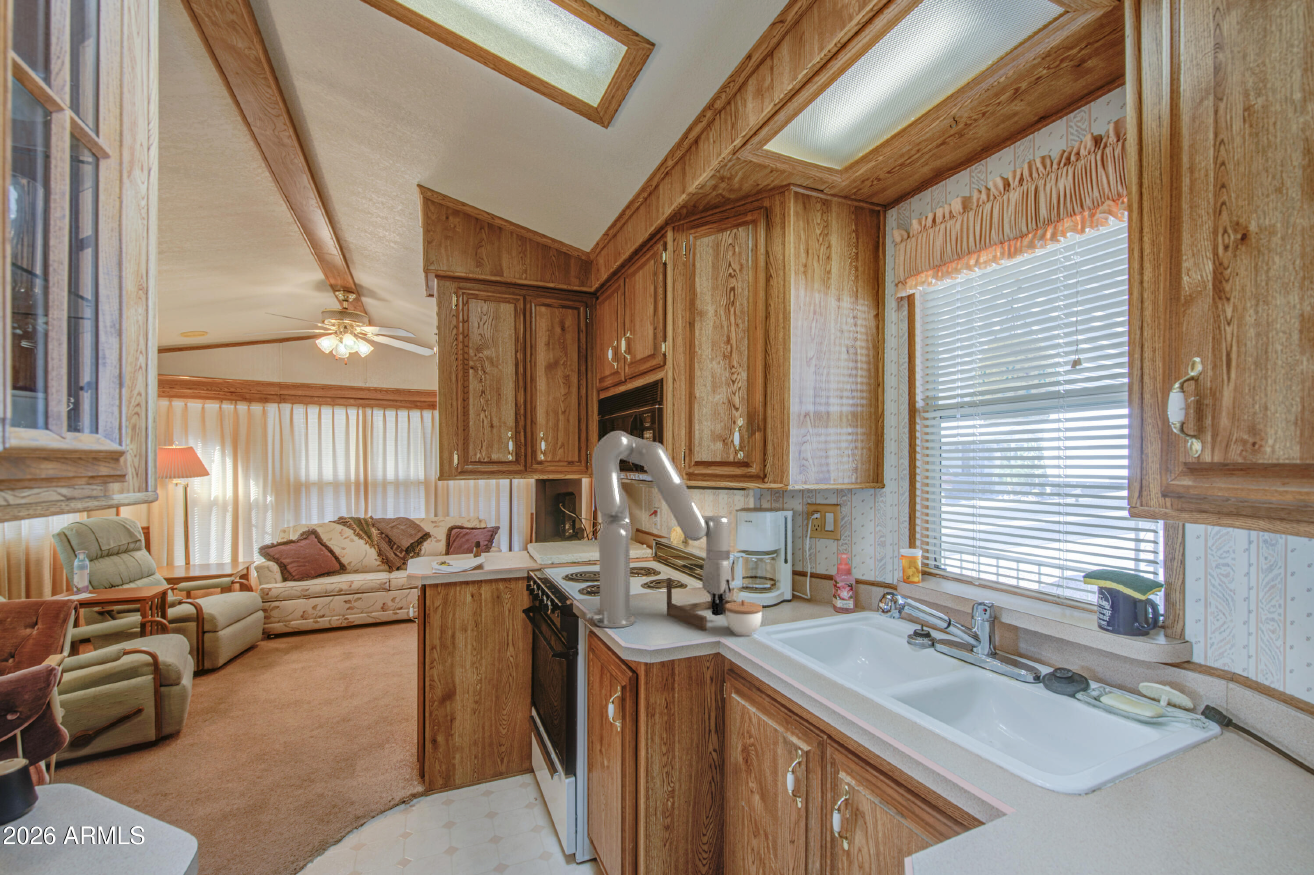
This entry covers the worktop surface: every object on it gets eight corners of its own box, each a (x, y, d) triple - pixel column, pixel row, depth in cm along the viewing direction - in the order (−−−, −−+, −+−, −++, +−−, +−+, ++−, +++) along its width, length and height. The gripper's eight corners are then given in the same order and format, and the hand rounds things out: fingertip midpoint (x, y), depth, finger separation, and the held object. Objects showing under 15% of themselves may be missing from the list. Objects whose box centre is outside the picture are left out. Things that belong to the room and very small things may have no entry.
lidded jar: (747, 640, 154) (746, 606, 155) (717, 632, 162) (717, 600, 163) (770, 632, 162) (769, 599, 162) (741, 625, 169) (740, 594, 170)
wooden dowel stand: (703, 631, 164) (702, 589, 165) (666, 615, 182) (666, 578, 183) (755, 621, 173) (754, 582, 174) (715, 607, 192) (714, 572, 193)
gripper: (694, 552, 179) (694, 610, 178) (722, 559, 166) (721, 622, 165) (713, 551, 183) (713, 608, 182) (742, 558, 170) (742, 619, 169)
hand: (717, 614), depth 173 cm, fingers closed
